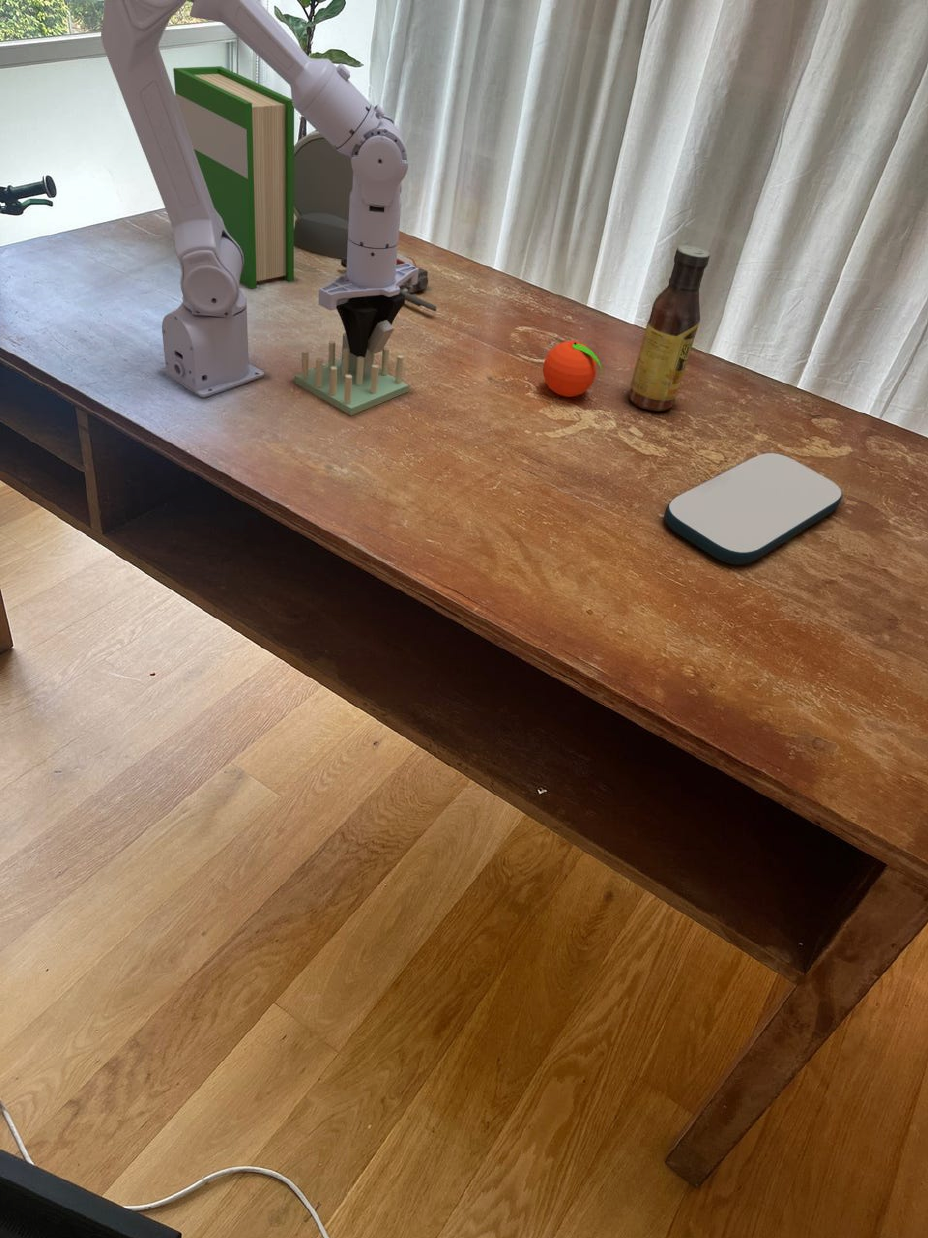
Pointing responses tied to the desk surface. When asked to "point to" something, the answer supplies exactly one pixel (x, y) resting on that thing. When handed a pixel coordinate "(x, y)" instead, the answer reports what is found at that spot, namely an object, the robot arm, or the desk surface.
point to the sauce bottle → (670, 333)
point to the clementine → (570, 368)
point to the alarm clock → (321, 196)
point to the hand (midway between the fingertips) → (366, 351)
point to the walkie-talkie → (408, 288)
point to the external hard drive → (752, 507)
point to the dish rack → (351, 381)
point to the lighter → (370, 347)
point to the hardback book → (244, 163)
